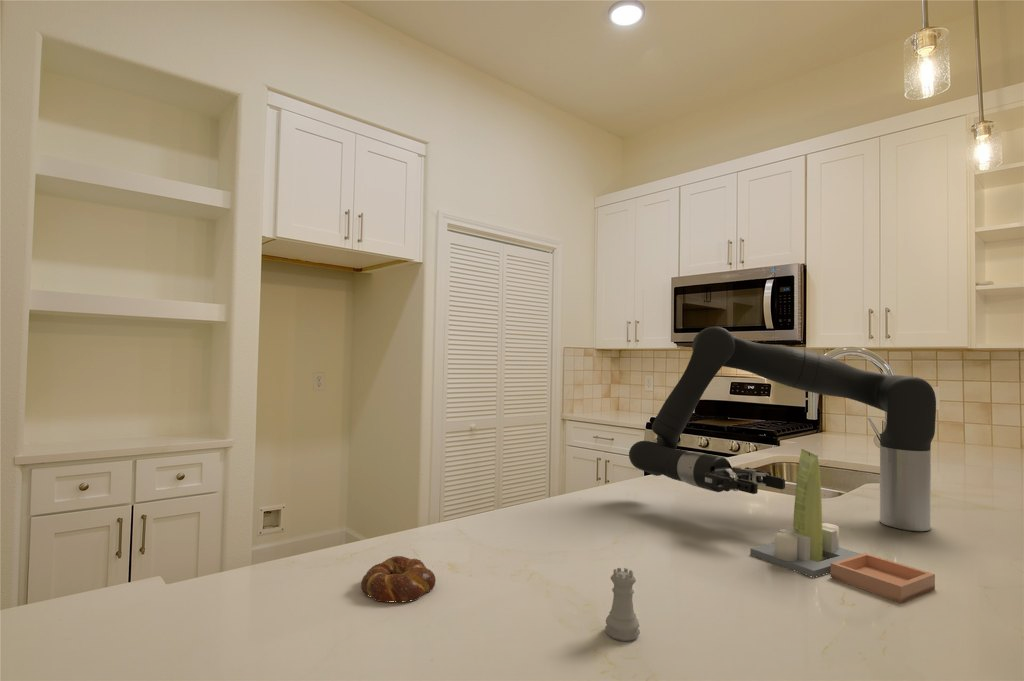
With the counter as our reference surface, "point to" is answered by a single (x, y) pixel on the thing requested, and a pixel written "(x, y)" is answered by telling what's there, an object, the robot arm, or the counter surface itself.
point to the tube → (809, 503)
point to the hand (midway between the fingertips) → (770, 486)
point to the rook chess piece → (622, 608)
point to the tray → (883, 577)
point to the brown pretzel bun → (398, 580)
